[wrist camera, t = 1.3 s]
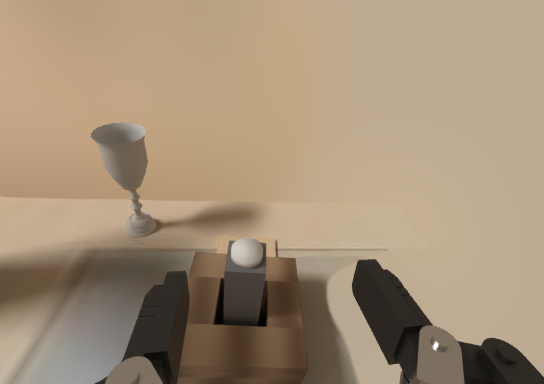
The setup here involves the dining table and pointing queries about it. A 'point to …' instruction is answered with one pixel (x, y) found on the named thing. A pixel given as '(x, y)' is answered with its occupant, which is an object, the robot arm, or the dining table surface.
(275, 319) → the wooden square socket block
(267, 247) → the pad
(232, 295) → the plug
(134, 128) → the chalice
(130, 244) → the dining table surface
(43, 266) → the dining table surface
